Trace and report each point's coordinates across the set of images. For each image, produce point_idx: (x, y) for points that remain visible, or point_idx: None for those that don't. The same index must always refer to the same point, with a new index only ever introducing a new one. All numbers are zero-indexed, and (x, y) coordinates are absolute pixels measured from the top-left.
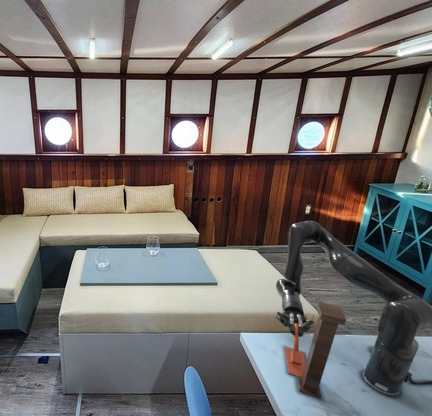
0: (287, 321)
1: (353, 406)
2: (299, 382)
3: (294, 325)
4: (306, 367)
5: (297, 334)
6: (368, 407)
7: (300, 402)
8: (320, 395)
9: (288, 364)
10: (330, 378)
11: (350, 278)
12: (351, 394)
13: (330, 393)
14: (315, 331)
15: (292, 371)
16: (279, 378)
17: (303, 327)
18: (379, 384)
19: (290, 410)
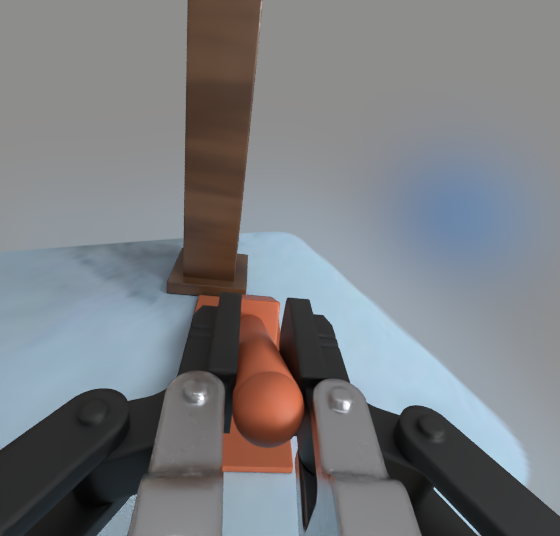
0: (410, 416)
1: (71, 254)
2: (244, 269)
3: (296, 384)
4: (243, 190)
5: (251, 339)
6: (4, 258)
7: (248, 245)
8: (183, 249)
9: (278, 334)
10: (76, 326)
11: None
12: (31, 283)
13: (131, 274)
14: None
15: None
16: (308, 285)
17: (154, 406)
18: None
19: (276, 232)
